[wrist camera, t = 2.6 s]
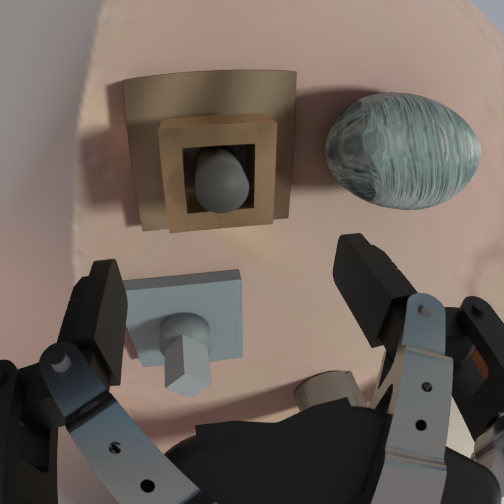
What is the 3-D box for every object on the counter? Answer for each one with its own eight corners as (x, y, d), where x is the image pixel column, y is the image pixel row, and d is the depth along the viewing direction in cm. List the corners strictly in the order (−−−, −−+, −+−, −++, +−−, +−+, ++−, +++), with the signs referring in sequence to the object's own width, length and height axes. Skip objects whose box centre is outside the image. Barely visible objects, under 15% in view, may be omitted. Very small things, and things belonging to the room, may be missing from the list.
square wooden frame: (265, 113, 19) (277, 122, 16) (262, 203, 22) (272, 223, 20) (162, 119, 18) (157, 129, 15) (171, 210, 21) (169, 233, 19)
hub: (238, 269, 30) (256, 337, 23) (240, 347, 37) (253, 407, 30) (116, 281, 28) (102, 350, 22) (143, 356, 35) (141, 418, 28)
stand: (290, 70, 21) (339, 79, 14) (283, 210, 27) (317, 269, 21) (127, 79, 19) (94, 89, 12) (144, 222, 26) (132, 288, 19)
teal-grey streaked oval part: (312, 218, 25) (413, 219, 15) (296, 102, 23) (385, 56, 14) (414, 204, 30) (496, 203, 21) (402, 116, 28) (480, 97, 19)
